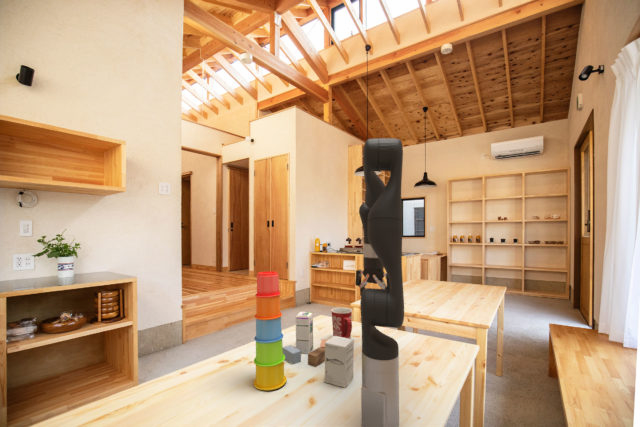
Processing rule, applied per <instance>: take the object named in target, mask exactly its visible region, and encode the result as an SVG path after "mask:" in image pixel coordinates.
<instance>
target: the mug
mask: <svg viewBox="0 0 640 427" xmlns="http://www.w3.org/2000/svg"><path fill="white" fill-rule="evenodd" d="M352 313H353V310H352V309H351V308H348V307H335V308H331V322H332V324H331V325H332V335H333V336H339V337H344V338H349V339H352V331H353V330H352V329H353V323H352V322H353V321H352V316H353V314H352ZM333 336H332V337H333Z"/></svg>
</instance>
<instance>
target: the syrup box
mask: <svg viewBox="0 0 640 427" xmlns="http://www.w3.org/2000/svg"><path fill="white" fill-rule="evenodd" d="M313 314H314V313H313V312H311V311H299V312H298V313H297V315H296V316H295V348H296V349H298V350H300V351H301V354H304V355H308V353H310V352H312V351H313V349H314V315H313Z"/></svg>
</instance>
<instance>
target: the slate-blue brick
mask: <svg viewBox="0 0 640 427" xmlns="http://www.w3.org/2000/svg"><path fill="white" fill-rule="evenodd" d="M283 354H284V355H285V360H284V361H286V362H288V363H290V364H292V365H296V364H298V363H301V362H302V353H301V351H300V350H298V349H296V346H295V347H294V346H292V344H290V345H285V346H283Z"/></svg>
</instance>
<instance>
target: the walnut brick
mask: <svg viewBox="0 0 640 427" xmlns="http://www.w3.org/2000/svg"><path fill="white" fill-rule="evenodd" d="M324 363H325V349H324V348H320V347H317V348H315V349H314V350H312V351H311V352H310V353H308V354H307V365H308V366H310V367H314V368H317V367H319V366H320V365H322V364H324Z"/></svg>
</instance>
